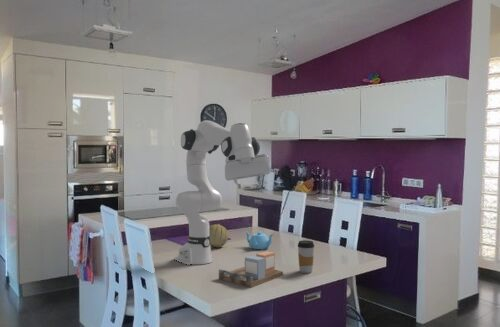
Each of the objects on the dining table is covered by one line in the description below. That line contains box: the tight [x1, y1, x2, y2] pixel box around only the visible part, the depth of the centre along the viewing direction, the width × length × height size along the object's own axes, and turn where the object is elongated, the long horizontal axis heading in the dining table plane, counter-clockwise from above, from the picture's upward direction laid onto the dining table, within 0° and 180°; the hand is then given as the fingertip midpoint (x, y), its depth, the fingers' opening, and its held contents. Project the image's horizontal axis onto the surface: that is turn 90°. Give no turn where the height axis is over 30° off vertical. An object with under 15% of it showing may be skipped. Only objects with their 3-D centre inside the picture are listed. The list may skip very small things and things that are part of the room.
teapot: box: [245, 231, 274, 250], centre depth 265 cm, size 15×15×10 cm
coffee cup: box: [297, 239, 315, 274], centre depth 212 cm, size 8×8×15 cm
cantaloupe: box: [209, 222, 229, 248], centre depth 268 cm, size 15×15×15 cm
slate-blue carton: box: [244, 255, 265, 280], centre depth 195 cm, size 5×8×9 cm, turn 50°
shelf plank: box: [218, 266, 284, 288], centre depth 202 cm, size 20×24×4 cm
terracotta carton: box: [255, 250, 276, 274], centre depth 204 cm, size 5×8×9 cm, turn 140°
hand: (250, 186), depth 184 cm, fingers open, 8 cm apart
